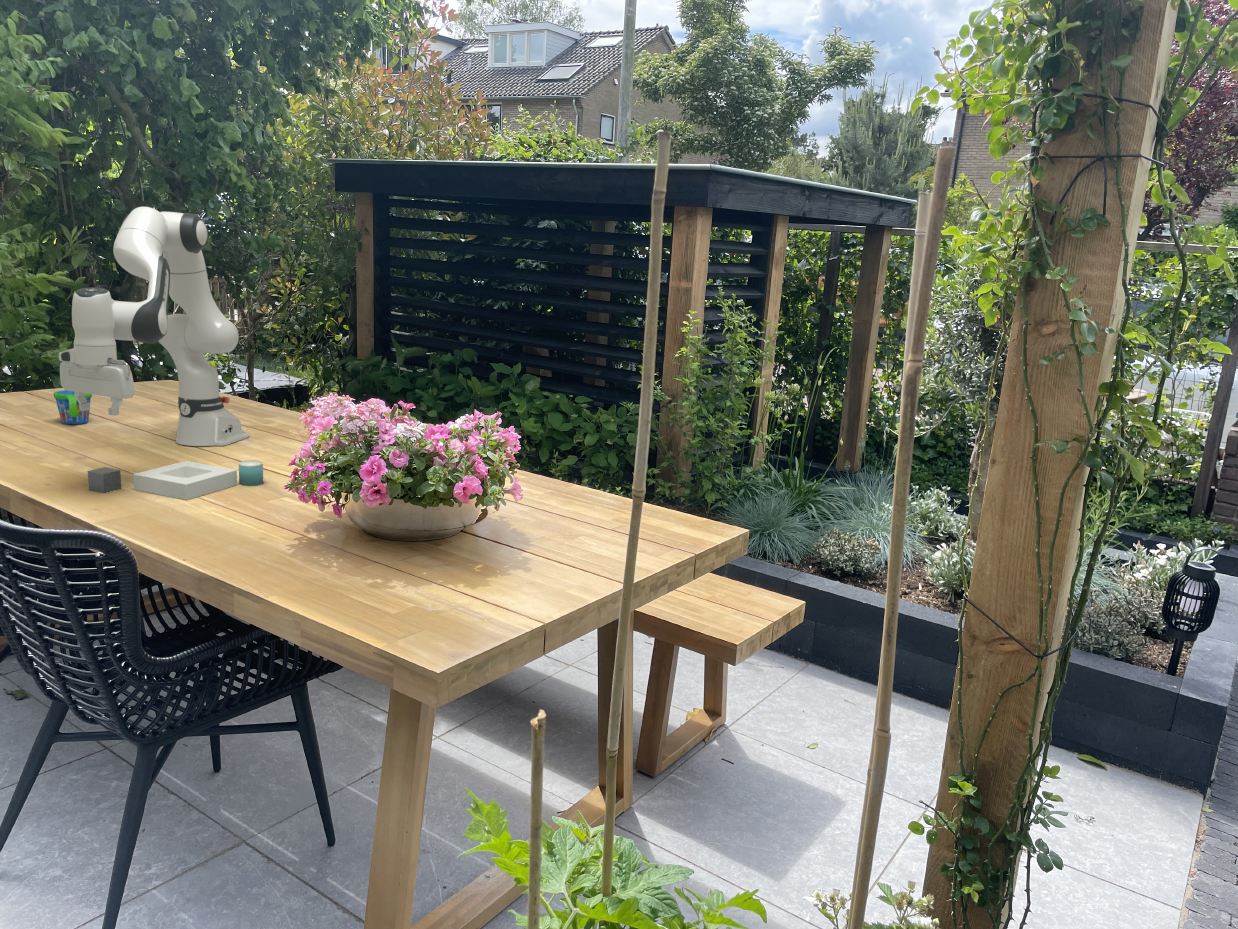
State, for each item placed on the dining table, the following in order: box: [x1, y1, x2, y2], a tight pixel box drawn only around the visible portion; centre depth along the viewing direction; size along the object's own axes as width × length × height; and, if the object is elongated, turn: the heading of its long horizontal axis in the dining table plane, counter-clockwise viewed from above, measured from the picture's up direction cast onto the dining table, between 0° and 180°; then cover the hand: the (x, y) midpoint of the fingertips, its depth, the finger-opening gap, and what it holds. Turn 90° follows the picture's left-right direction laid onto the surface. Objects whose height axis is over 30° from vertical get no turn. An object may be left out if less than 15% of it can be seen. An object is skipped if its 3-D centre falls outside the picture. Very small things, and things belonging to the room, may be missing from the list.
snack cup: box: [53, 389, 93, 425], centre depth 287 cm, size 16×10×10 cm
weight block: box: [87, 466, 122, 494], centre depth 222 cm, size 5×5×5 cm
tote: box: [132, 460, 238, 501], centre depth 228 cm, size 17×17×4 cm
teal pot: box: [238, 459, 264, 487], centre depth 236 cm, size 6×6×6 cm
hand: (99, 412), depth 217 cm, fingers open, 8 cm apart
